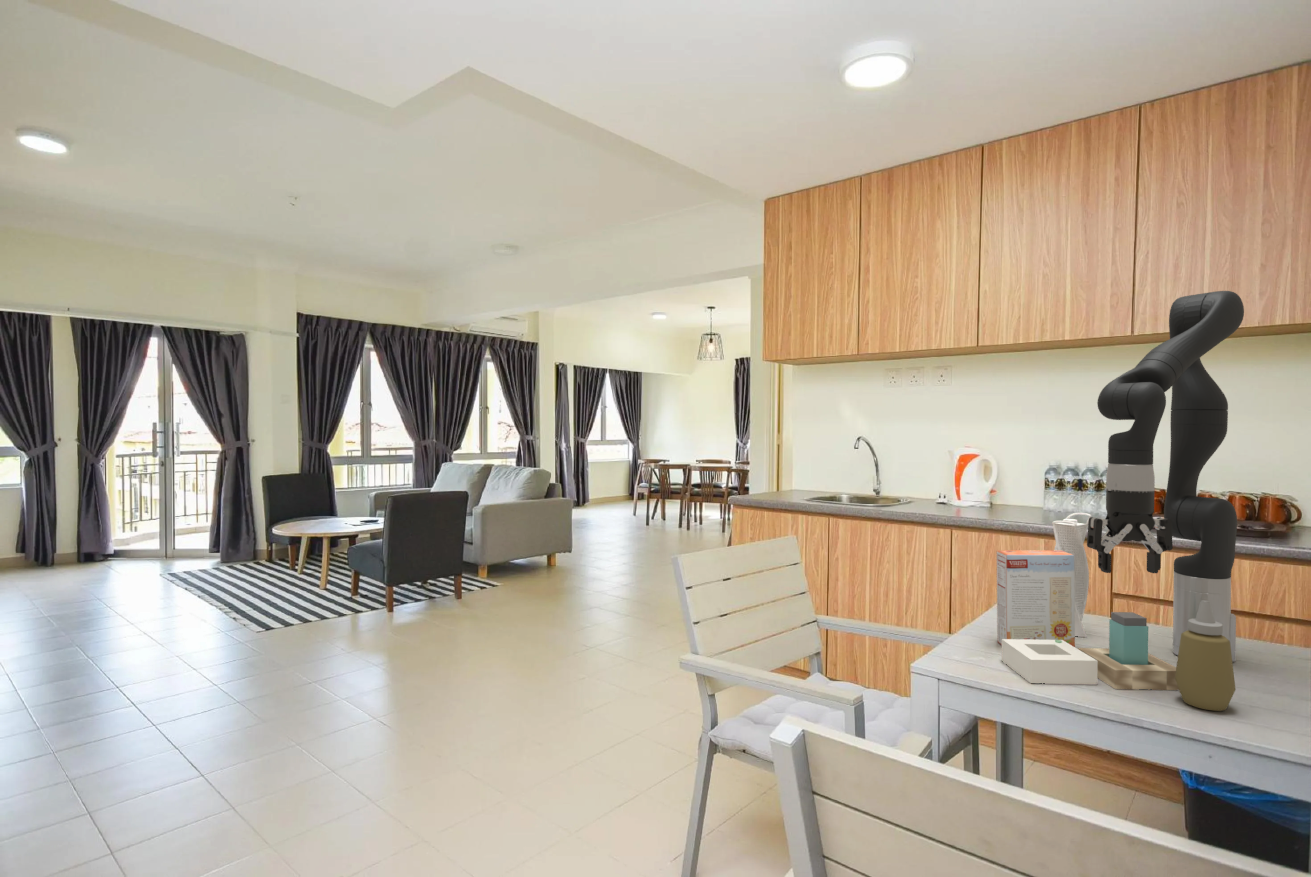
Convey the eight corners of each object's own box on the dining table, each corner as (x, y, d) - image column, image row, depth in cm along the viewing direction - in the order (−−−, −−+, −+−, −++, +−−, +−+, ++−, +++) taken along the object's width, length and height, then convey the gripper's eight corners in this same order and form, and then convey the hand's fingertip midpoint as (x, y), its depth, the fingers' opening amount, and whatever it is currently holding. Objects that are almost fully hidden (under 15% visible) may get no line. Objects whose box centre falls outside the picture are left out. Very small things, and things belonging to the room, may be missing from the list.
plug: (1132, 673, 130) (1133, 612, 129) (1147, 682, 125) (1148, 618, 125) (1109, 672, 130) (1109, 611, 130) (1123, 681, 126) (1124, 618, 125)
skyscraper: (1083, 629, 157) (1084, 511, 156) (1096, 639, 150) (1097, 515, 149) (1046, 627, 159) (1046, 510, 158) (1057, 637, 152) (1058, 514, 151)
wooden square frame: (1139, 666, 133) (1140, 648, 133) (1183, 690, 121) (1183, 671, 121) (1077, 665, 134) (1077, 648, 134) (1115, 689, 122) (1115, 670, 122)
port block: (1061, 661, 136) (1062, 638, 136) (1097, 684, 124) (1097, 659, 124) (1001, 660, 137) (1001, 637, 137) (1030, 683, 125) (1031, 658, 125)
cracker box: (1061, 643, 147) (1062, 549, 147) (1075, 652, 141) (1076, 554, 141) (995, 641, 149) (995, 548, 148) (1006, 650, 143) (1007, 553, 142)
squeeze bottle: (1162, 696, 119) (1163, 595, 118) (1204, 694, 119) (1205, 594, 119) (1203, 716, 111) (1205, 608, 110) (1248, 713, 111) (1249, 606, 111)
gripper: (1155, 486, 130) (1154, 568, 130) (1079, 485, 131) (1078, 567, 131) (1183, 489, 123) (1182, 577, 123) (1103, 489, 124) (1102, 576, 124)
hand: (1128, 572), depth 127 cm, fingers open, 8 cm apart
